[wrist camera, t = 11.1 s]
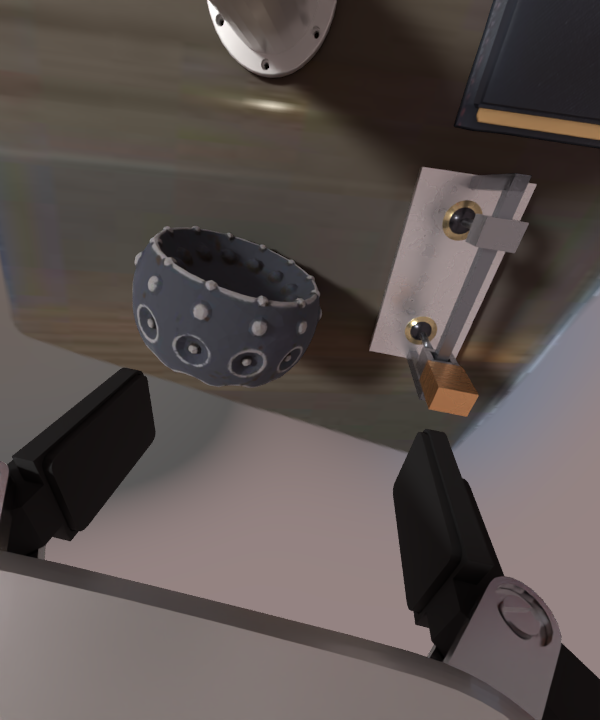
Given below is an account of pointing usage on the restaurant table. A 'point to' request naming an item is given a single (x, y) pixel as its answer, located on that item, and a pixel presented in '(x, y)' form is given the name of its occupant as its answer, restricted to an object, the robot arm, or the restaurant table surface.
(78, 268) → the restaurant table surface
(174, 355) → the ring
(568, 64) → the dark grey flat slab
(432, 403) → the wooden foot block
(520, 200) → the switch panel
